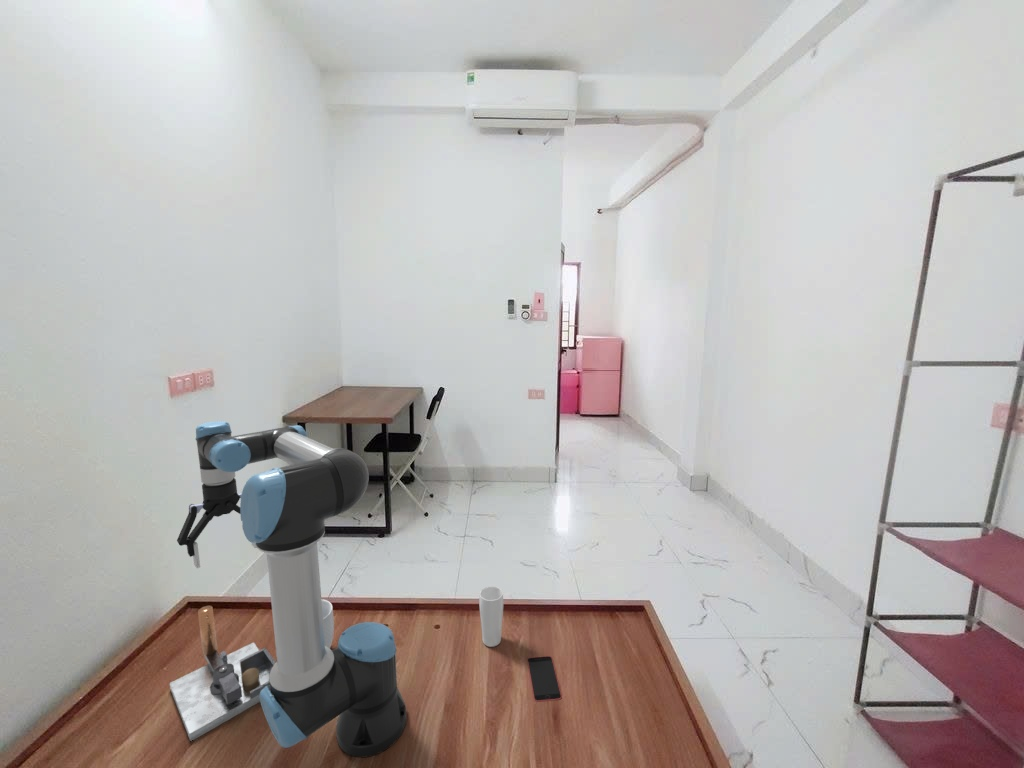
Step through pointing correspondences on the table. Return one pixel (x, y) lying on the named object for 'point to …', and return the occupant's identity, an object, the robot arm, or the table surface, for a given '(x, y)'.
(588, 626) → the table surface
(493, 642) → the white tall cup
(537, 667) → the smartphone
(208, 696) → the grey flat slab fixture
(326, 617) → the mug
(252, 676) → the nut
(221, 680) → the lever
